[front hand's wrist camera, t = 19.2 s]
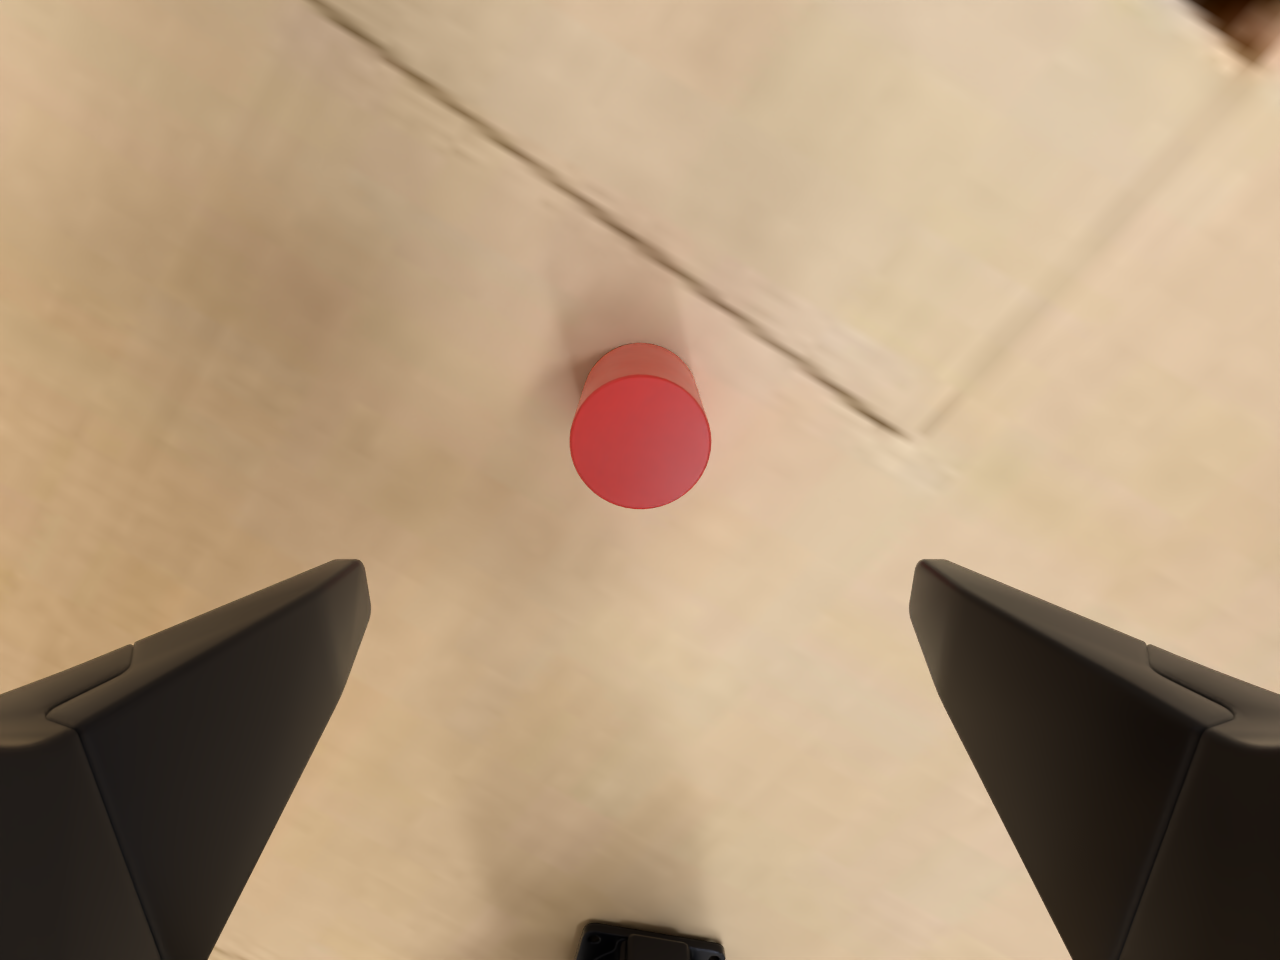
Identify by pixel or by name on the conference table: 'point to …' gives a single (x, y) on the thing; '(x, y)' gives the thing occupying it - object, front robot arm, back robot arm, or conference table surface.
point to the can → (640, 428)
